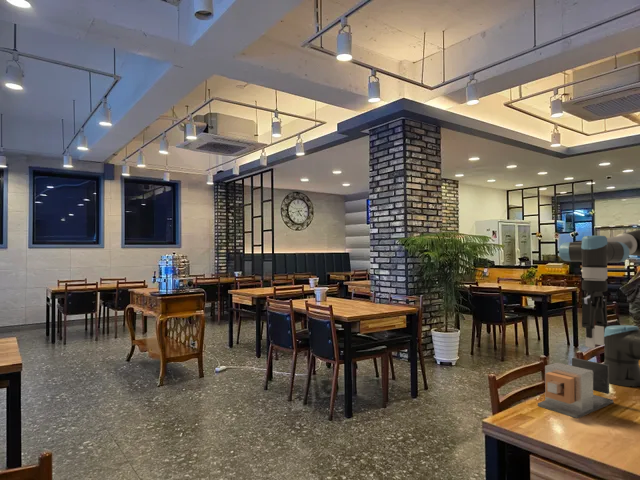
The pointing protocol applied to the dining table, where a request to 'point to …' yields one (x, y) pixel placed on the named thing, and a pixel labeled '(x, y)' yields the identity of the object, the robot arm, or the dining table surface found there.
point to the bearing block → (583, 392)
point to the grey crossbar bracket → (598, 376)
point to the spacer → (568, 388)
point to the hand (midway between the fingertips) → (594, 345)
